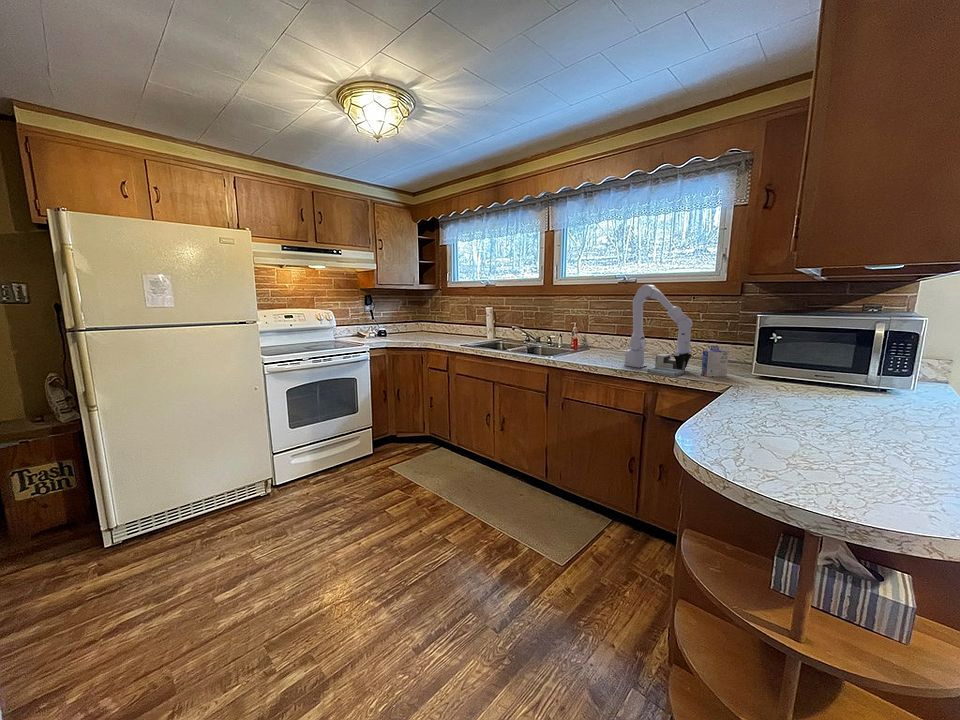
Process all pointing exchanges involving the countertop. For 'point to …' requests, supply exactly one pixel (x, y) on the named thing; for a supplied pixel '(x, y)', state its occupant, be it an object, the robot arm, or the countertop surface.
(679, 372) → the tray
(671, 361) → the gray white block
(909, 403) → the countertop surface
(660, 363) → the bay
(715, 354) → the ink cartridge box
